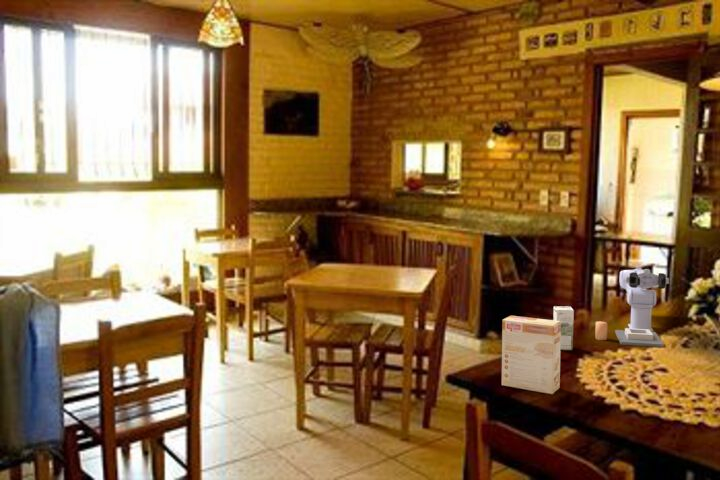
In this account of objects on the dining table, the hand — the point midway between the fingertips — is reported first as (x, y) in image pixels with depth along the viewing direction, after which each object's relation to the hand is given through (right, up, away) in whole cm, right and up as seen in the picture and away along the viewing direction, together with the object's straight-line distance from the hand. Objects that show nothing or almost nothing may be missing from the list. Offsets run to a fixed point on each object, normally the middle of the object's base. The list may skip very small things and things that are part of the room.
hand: (650, 281), depth 228 cm
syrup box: (-33, -23, -6) cm, 41 cm away
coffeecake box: (-55, -27, -45) cm, 76 cm away
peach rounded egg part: (-15, -21, +7) cm, 27 cm away
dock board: (-2, -21, +5) cm, 22 cm away
